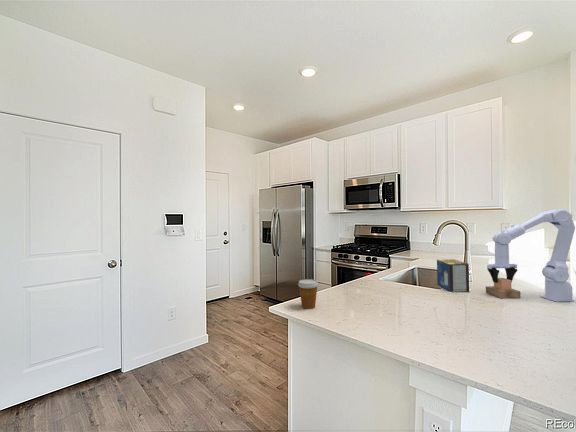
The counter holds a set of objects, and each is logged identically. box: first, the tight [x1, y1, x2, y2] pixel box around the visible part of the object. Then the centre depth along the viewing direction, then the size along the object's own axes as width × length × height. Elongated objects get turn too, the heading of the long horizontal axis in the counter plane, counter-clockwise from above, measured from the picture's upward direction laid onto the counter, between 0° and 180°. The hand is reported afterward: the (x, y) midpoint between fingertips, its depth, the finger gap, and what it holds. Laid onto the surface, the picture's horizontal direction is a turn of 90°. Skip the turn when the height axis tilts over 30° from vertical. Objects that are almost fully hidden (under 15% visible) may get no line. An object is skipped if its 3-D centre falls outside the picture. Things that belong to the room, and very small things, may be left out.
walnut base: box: [485, 285, 521, 300], centre depth 140 cm, size 10×10×4 cm
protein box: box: [436, 259, 470, 293], centre depth 155 cm, size 10×15×16 cm
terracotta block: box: [493, 277, 512, 290], centre depth 139 cm, size 5×5×5 cm
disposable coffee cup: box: [297, 278, 319, 310], centre depth 127 cm, size 10×10×12 cm
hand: (502, 282), depth 140 cm, fingers open, 7 cm apart
